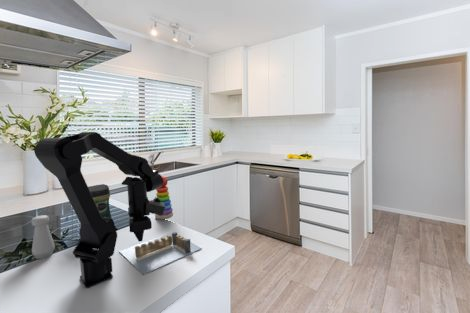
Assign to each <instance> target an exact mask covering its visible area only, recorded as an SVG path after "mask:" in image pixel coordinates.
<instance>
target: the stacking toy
mask: <svg viewBox="0 0 470 313" xmlns="http://www.w3.org/2000/svg"><path fill="white" fill-rule="evenodd" d="M161 176H162V175H161ZM162 178H163V185H162V187H160V188H158V189H155V190H156V194H155V195H156V196H155V197H156V198H159V199H160V202H163V203H164V204H165V206H166V207H165V210H164V213H163V215H162V216H161V215H158V214H154V217H155V219H158V220H168V219H170V218H172V217H173V216H174V212H173V211H174V209H173V207H172V206H173V205H172V203H171V202H172V201H171V199H170V198H171V197H170V192H169V191H168V190H169V186H167V185H168V178H167V177H166V176H162Z"/></svg>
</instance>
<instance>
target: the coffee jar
mask: <svg viewBox="0 0 470 313" xmlns="http://www.w3.org/2000/svg"><path fill="white" fill-rule="evenodd" d="M88 188H89V190H90V193H91V195H92V197H93V199H94V201H95V203H96V206H97V208H98V210H99V212H100V214H101V216H102V217H105V218H112V215H111V208H110V197H111V191H110V187H109V185H107V184H104V183H102V184H95V185H91V186H88Z"/></svg>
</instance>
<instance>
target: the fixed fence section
mask: <svg viewBox="0 0 470 313" xmlns="http://www.w3.org/2000/svg"><path fill="white" fill-rule="evenodd" d="M172 232H173V233H172ZM172 232H171V233H172V244H173V245H177V246H179V247H181V248H182V249H184V250H185V252H186V253H190V252H191V246H190V242H191V239H190V238H185V237H184V236H181V235H180V234H178V232H177V231H172Z"/></svg>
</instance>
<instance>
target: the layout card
mask: <svg viewBox="0 0 470 313" xmlns="http://www.w3.org/2000/svg"><path fill="white" fill-rule="evenodd" d="M173 232H174V231H172V232H170V233H167V234H163V235H161V236H159V237H156V238H152V239H150V240H146V241H144V242H141V243H138V244H136V245H132V246H129V247H127V248H123V249H122V250H118V253H119V254H120V255H121V256H123V257H124V258H125V259H126V260H127V261H128V262H129V263H130V264H131V265H133V267H134V268H136V270H138V271H139V272H140V273H141V275H143V276H145V275H147V274H149V273H151V272H154V271H157V270H158V269H161V268H163V267H165V266H167V265H170V264H172V263H174V262H176V261H178V260H180V259H183V258H185V257H187V256H190V255H192V254H194V253H196V252H199V251H201V250H202V247H200V246H199V245H197V244H195V243H193V242H192V241H190V246H191V252H190V253H186V252H185V250H184V249H182V248H181V247H179V246H177V245H173V244H172V245H170V246H167V247H165V248H162V249H160V250H157V251H154V252H152V253H149V254H146V255H144V256H141V257H139V258H137V257H136V256H135V247H136V246H139V247H141V245H142V244H146V245H147V244H148V242H150V241H151V242H155V240H156V239H158V240H161V238H162V237H165V238H167V235H171V237H172V233H173Z"/></svg>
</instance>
